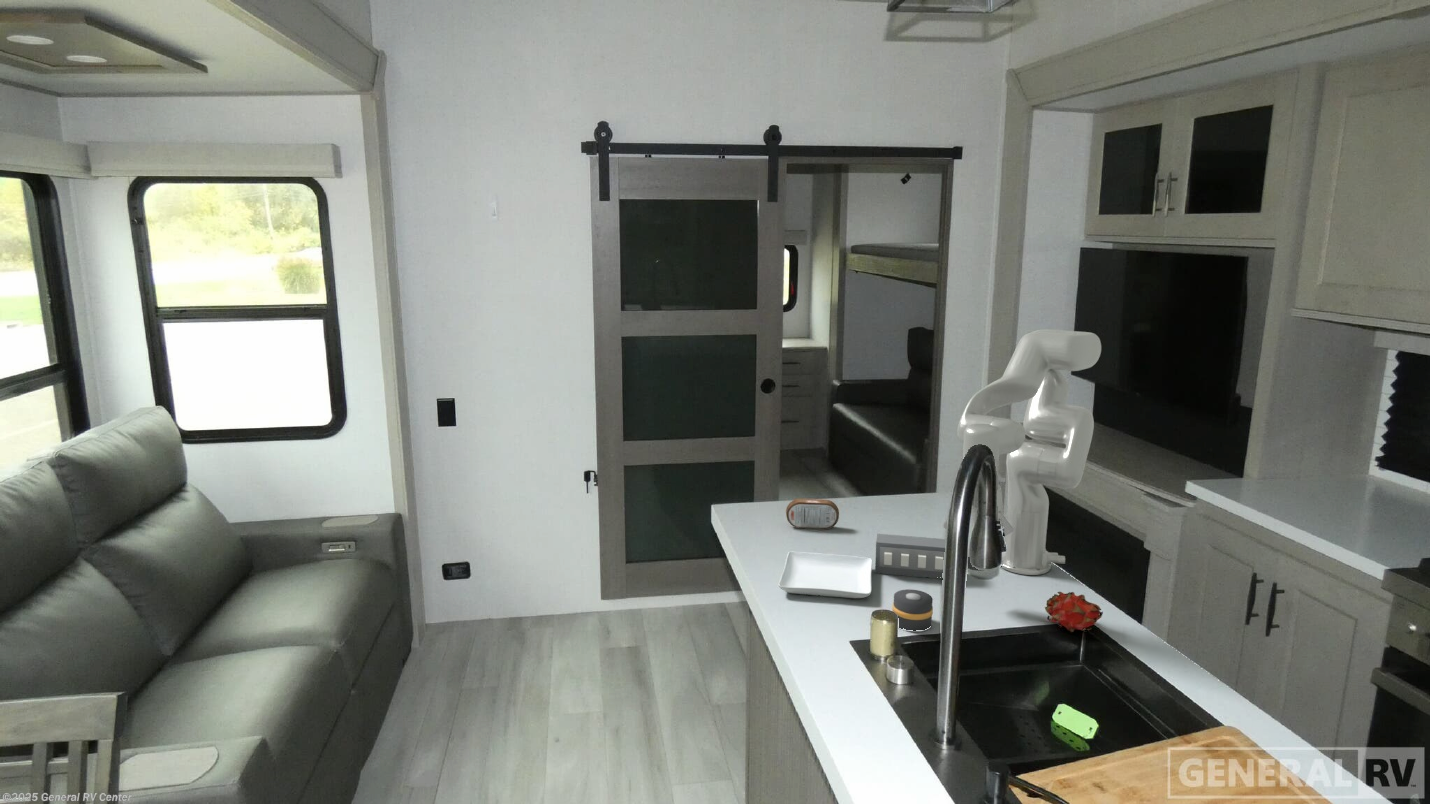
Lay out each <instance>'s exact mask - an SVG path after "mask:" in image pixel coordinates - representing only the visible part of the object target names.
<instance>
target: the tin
mask: <svg viewBox="0 0 1430 804" xmlns="http://www.w3.org/2000/svg"><path fill="white" fill-rule="evenodd" d="M785 514H786V519H787V522H788V523H789V524H790V525H791V526H792V527H793V528H796V529H803V528H806V530H809V529H810V530H811V529H812V530H829V529H831V528H834V527H835V526H836V524H837V523H838V521H839V518H840V510H839V508H838V505H837V504H836V503H835V502H833V501H832V500H829V499H822V498H821V499H817V498H816V499H815V498H796V499H793V500H791V501H790V502H789V503H788V504H787V506H786V509H785Z"/></svg>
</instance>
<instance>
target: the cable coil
mask: <svg viewBox="0 0 1430 804" xmlns="http://www.w3.org/2000/svg"><path fill="white" fill-rule="evenodd" d="M933 600H934V599H933V596H932V595H930V593H927V592H924V591H922V590H920V589H919V590H918V589H910V588H909V589H901V590H898V591H896V592H895V593H894V594H893V602H892V613H893V612H894V613H896V614H897V615H898V618H899V628H901V629H903V628H904V629H906V630H913V631H916V630H925V629H927V628H929V627H930V626H931V627H932V622H933V621H932V618H933V613H934V612H933V610H934V607H933ZM899 628H898V629H899ZM901 629H900V630H901Z"/></svg>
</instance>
